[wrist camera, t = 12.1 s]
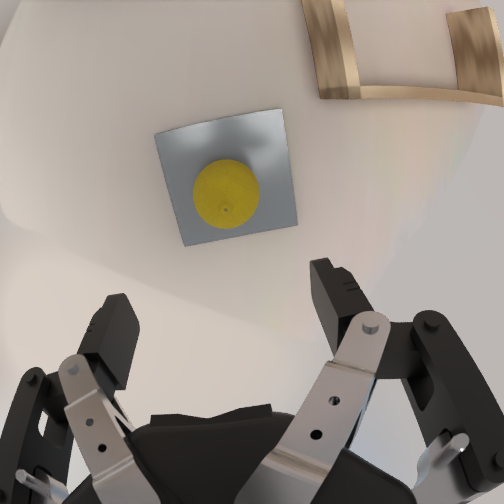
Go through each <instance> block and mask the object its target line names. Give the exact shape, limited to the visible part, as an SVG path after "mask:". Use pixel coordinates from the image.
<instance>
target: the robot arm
mask: <svg viewBox="0 0 504 504" xmlns="http://www.w3.org/2000/svg"><path fill="white" fill-rule="evenodd" d="M310 280H311V294H312V300H313V303H314V306H315V309H316V311H317V314H318V317H319V319H320V322H321V324H322V327H323V330H324V332H325V335H326V337H327V340H328V343H329V345H330V348H331V350H332V353H333V355H334V359H333V360H332V361H327V362H326V363H325V365H324V367H323V368H322V370H321V372H320V374H319V376H318V378H317V380H316V381H315V383H314V385H313V387H312V389H311V390H310V392H309V394H308V395H307V397H306V399H305V401H304V402H303V404H302V406H301V407H300V409H299V411H298V413H297V414H296V416H294V415H291V414H288V413H282V412H272V408H271V404H265V405H259V406H252V407H245V408H239V409H236V410H233V411H230V412H227V413H224V414H221V415H218V416H215V417H212V418H200V417H194V416H188V415H182V414H164V415H151V420H150V424H147V425H144V426H141V427H139V428H137V429H135V428H134V426H133V425H132V423H131V422H130V420H129V418H128V417H127V415H126V414H125V412H124V410H123V408H122V407H121V405H120V403H119V402H118V400H117V398H116V397H115V396H114V393H115V390H125V389H126V385H127V380H128V376H129V372H130V368H131V363H132V359H133V355H134V351H135V348H136V343H137V340H138V336H139V332H140V326H139V321H138V319H137V317H136V315H135V312H134V310H133V308H132V306H131V304H130V302H129V300H128V298H127V296H126V295H125V294H124V293H120V294H114V295H108V296H107V298H106V300H105V302H104V304H103V306H102V308H100V309H99V310H98V311H97V312H96V313H95V314H94V315H93V317H92V319H91V321H90V326H88V328H87V330H86V331H87V332H86V333H85V335H84V337H83V340H82V342H81V344H80V347H79V349H78V352H77V354H75V355H72V356H69V357H68V358H66V359H65V360H64V361H63V362H62V363H61V365H60V367H59V370H58V371H57V372H54V373H51V374H48V375H46V374H45V373H44V371H43V370H42V369H41V368H39V367H34V368H31V369H29V370H28V371H27V372H26V373H25V374H24V375H23V376H22V378H21V381H20V383H19V386H18V388H17V391H16V393H15V396H14V399H13V401H12V404H11V407H10V410H9V413H8V416H7V419H6V422H5V425H4V428H3V431H2V435H1V438H0V504H466V503H468V502H470V501H472V500H474V499H476V498H478V497H480V496H482V495H484V494H485V493H487V492H489V491H491V490H492V489H494V488H496V487H497V486H499V485H501V484H502V483H504V415H503V413H502V411H501V409H500V407H499V405H498V403H497V401H496V399H495V398H494V395H493V393H492V392H491V390H490V388H489V386H488V384H487V383H486V381H485V379H484V377H483V375H482V374H481V372H480V370H479V369H478V367H477V365H476V363H475V362H474V360H473V358H472V357H471V355H470V354H469V352H468V351H467V349H466V347H465V346H464V344H463V342H462V341H461V339H460V338H459V336H458V335H457V333H456V332H455V330H454V329H453V327H452V326H451V324H450V323H449V321H448V320H447V318H446V317H445V316H444V315H442V314H441V313H439V312H436V311H433V310H425V311H421V312H419V313H418V314H416V316H415V317H414V319H413V322H403V323H402V322H401V323H398V322H397V323H396V322H390V321H389V319H388V318H387V317H386V316H384V315H383V314H381V313H379V312H375V311H374V310H373V308H372V306H371V304H370V303H369V302H368V300H367V298H366V296H365V295H364V293H363V291H362V290H361V289H360V287H359V285H358V283H357V282H356V280H355V279H354V277H353V275H352V274H351V273H350V272H349V271H347V270H346V269H344V268H343V267H339V268H334V267H333V265H332V264H331V262H330V260H329V259H328V258H322V259H317V260H312V261H310ZM378 379H401V381H402V384H403V386H404V389H405V391H406V393H407V396H408V399H409V401H410V403H411V406H412V409H413V411H414V414H415V416H416V419H417V422H418V424H419V427H420V430H421V432H422V435H423V438H424V441H425V444H426V447H427V449H426V450H425V451H424V452H423V454H422V455H421V456H420V458H419V460H418V463H417V471H418V478H417V482H416V484H415V486H414V488H413V489H411V490H410V488H409V487H408V486H407V485H405V484H404V483H403V482H401V481H400V480H398V479H396V478H394V477H393V476H391V475H389V474H387V473H385V472H384V471H382V470H381V469H379V468H377V467H376V466H374V465H372V464H371V463H369V462H368V461H366V460H364V459H363V458H361V457H360V456H358V455H356V454H355V453H353V452H351V451H350V450H349V449H350V447H351V445H352V443H353V440H354V438H355V436H356V434H357V432H358V429H359V427H360V424H361V421H362V419H363V416H364V414H365V411H366V409H367V406H368V404H369V401H370V399H371V397H372V394H373V391H374V388H375V386H376V383H377V380H378ZM42 411H44V412H45V413H46V414H47V415H48V420H47V423H46V427H45V431H44V435H43V437H42V435H41V434H40V432H39V429H38V424H39V420H40V417H41V413H42ZM74 437H75V440H76V442H77V444H78V447H79V449H80V452H81V454H82V456H83V458H84V460H85V463H86V465H87V467H88V469H89V471H90V473H91V474H90V475H89V476H88V477H87V478H86V479H85V480H84V481H83V482H82V483H81V484H80V485H79V486H78V487H77V488H76V489H75V490H74V491H73V492H72V493H71V494H70V495H69V494H68V490H67V488H66V483H67V476H68V469H69V462H70V457H71V450H72V445H73V440H74Z"/></svg>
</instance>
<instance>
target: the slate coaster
mask: <svg viewBox="0 0 504 504" xmlns="http://www.w3.org/2000/svg"><path fill="white" fill-rule="evenodd" d="M154 138H155V142H156V146H157V150H158V154H159V158H160V161H161V165H162V169H163V173H164V177H165V180H166V184H167V188H168V191H169V195H170V198H171V202H172V206H173V209H174V213H175V216H176V219H177V223H178V226H179V230H180V233H181V236H182V239H183V243H184V246H185V247H186V246H191V245H196V244H201V243H206V242H211V241H217V240H222V239H227V238H232V237H238V236H243V235H248V234H253V233H259V232H264V231H270V230H275V229H280V228H286V227H291V226H297V225H298V221H297V213H296V205H295V197H294V189H293V182H292V175H291V167H290V160H289V154H288V147H287V140H286V134H285V127H284V121H283V115H282V109H281V108H279V109H272V110H265V111H259V112H253V113H247V114H241V115H236V116H231V117H225V118H220V119H216V120H211V121H206V122H202V123H198V124H193V125H189V126H185V127H181V128H177V129H173V130H169V131H166V132H162V133H158V134H155V135H154ZM222 159H231V160H235V161H239V162H241V163H242V164H244V165H246V166H247V167H248V168H249V169H250V170H251V171H252V172H253V174H254V175H255V177H256V178H257V181H258V184H259V189H260V198H259V203H258V206H257V208H256V210H255V212H254V214H253V215H252V216H251V218H250V219H249V220H248V221H247V222H245V223H244V224H242V225H240V226H238V227H235V228H230V229H221V228H217V227H214V226H211V225H210V224H208V223H207V222H205V221H204V220H203V219H202V218H201V217H200V215H199V214H198V212H197V210H196V208H195V205H194V201H193V187H194V184H195V180H196V178H197V177H198V175H199V173H200V172H201V171H202V170H203V169H204V168H205V167H206V166H207V165H209V164H211V163H213V162H215V161H218V160H222Z"/></svg>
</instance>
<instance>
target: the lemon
mask: <svg viewBox="0 0 504 504" xmlns="http://www.w3.org/2000/svg"><path fill="white" fill-rule="evenodd" d="M259 198H260V189H259V184H258V181H257V178H256V177H255V175H254V174H253V172H252V171H251V170H250V169H249V168H248V167H247V166H246V165H244V164H242V163H241V162H239V161H235V160H231V159H222V160H218V161H215V162H213V163H211V164H209V165H207V166H206V167H205V168H204V169H203V170H202V171H201V172H200V173H199V175H198V177H197V178H196V180H195V184H194V187H193V201H194V205H195V208H196V210H197V212H198V214H199V215H200V217H201V218H202V219H203V220H204V221H205V222H207V223H208V224H210V225H211V226H214V227H217V228H221V229H230V228H235V227H238V226H240V225H242V224H244V223H245V222H247V221H248V220H249V219H250V218H251V216H252V215H253V214H254V212H255V210H256V208H257V206H258V203H259Z"/></svg>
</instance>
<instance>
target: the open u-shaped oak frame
mask: <svg viewBox="0 0 504 504" xmlns="http://www.w3.org/2000/svg"><path fill="white" fill-rule="evenodd" d="M301 1H302V5H303V10H304V14H305V18H306V23H307V28H308V32H309V37H310V42H311V47H312V52H313V58H314V63H315V69H316V75H317V81H318V87H319V93H320V99H369V98H415V99H437V100H451V101H462V102H472V103H480V104H488V105H495V106H501V107H504V58H503V52H502V46H501V41H500V36H499V31H498V26H497V22H496V18H495V14H494V10H493V9H492V8H489V7H483V8H476V9H470V10H465V11H460V12H455V13H450V14H446V17H447V21H448V26H449V30H450V35H451V41H452V46H453V52H454V58H455V65H456V73H457V81H458V90H451V89H441V88H428V87H412V86H360V82H359V76H358V69H357V63H356V57H355V52H354V46H353V41H352V36H351V31H350V26H349V22H348V17H347V13H346V9H345V5H344V1H343V0H301Z"/></svg>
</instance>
